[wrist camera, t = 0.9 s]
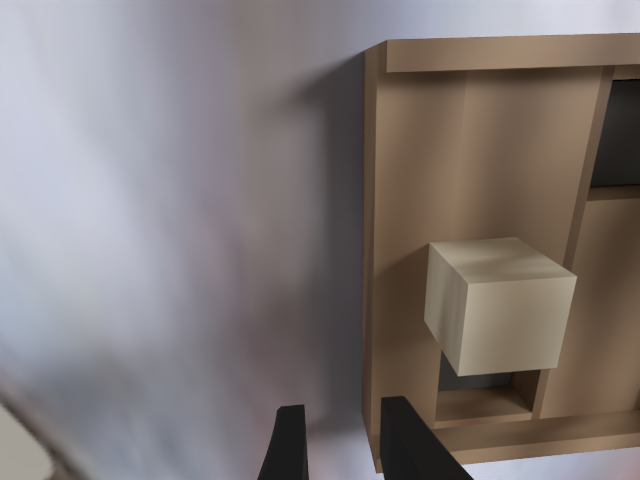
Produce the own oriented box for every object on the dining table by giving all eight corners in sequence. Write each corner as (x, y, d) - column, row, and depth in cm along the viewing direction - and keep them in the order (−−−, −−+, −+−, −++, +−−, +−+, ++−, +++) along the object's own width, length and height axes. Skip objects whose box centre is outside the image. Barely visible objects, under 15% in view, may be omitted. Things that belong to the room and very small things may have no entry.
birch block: (516, 237, 18) (577, 276, 14) (504, 314, 19) (556, 367, 16) (429, 242, 18) (468, 283, 14) (423, 320, 19) (458, 376, 15)
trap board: (754, 39, 18) (939, 19, 13) (640, 388, 25) (731, 464, 20) (364, 50, 17) (399, 33, 12) (361, 414, 24) (383, 501, 19)
